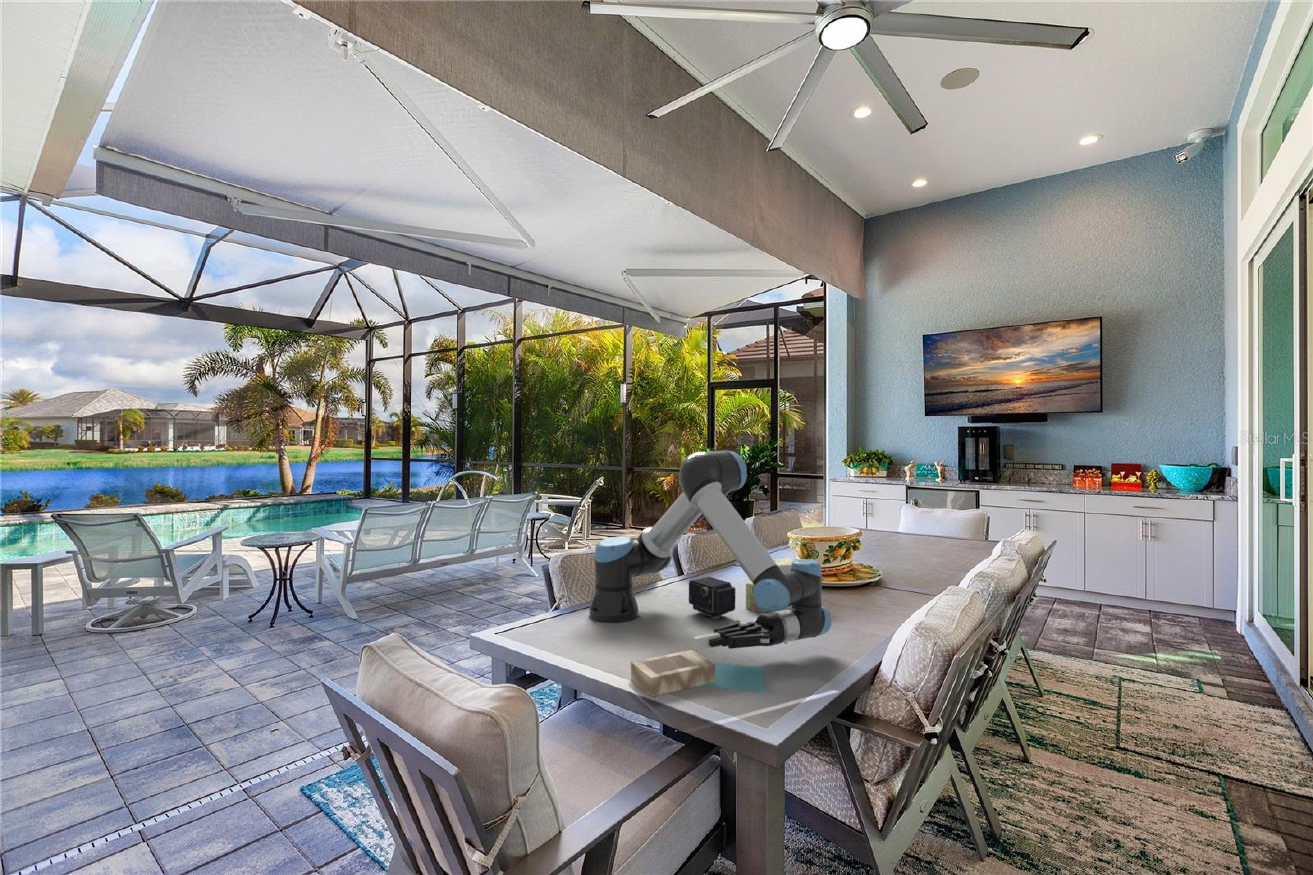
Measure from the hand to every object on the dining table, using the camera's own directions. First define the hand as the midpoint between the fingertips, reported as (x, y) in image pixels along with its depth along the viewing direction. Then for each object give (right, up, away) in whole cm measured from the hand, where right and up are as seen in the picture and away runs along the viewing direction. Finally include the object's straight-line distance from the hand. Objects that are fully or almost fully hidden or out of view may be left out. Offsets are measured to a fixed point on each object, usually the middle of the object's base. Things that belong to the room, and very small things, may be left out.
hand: (694, 643), depth 135 cm
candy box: (+27, -8, +51) cm, 58 cm away
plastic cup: (+36, -8, +59) cm, 69 cm away
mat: (+3, -8, +1) cm, 8 cm away
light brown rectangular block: (+2, -5, +1) cm, 6 cm away
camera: (+8, -8, +47) cm, 48 cm away
